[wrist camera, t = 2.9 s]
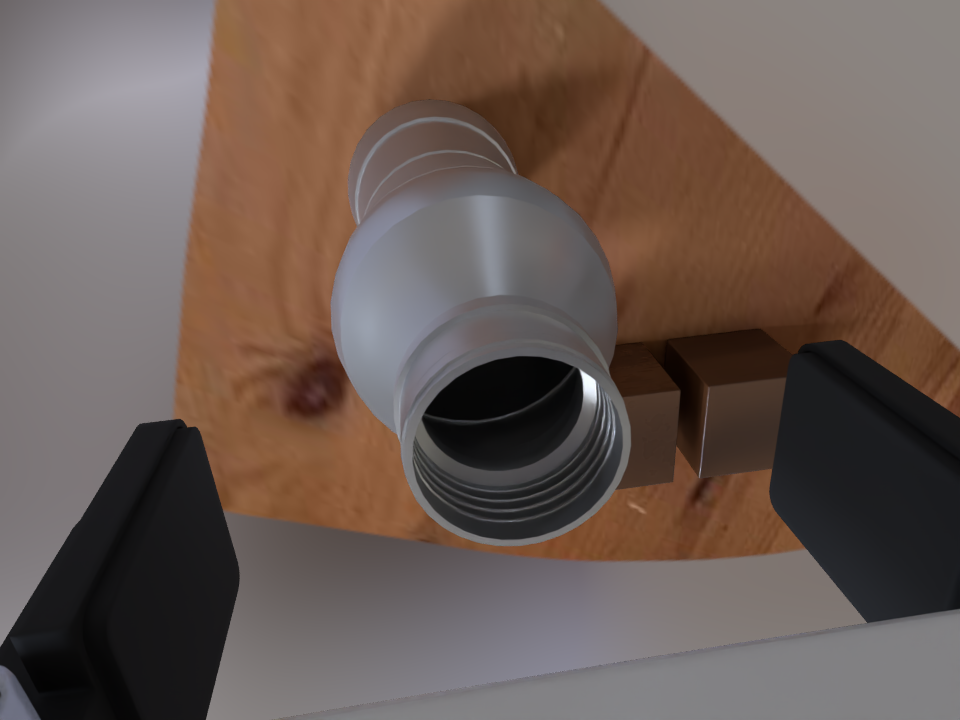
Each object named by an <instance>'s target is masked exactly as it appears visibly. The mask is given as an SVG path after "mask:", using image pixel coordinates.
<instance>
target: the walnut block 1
mask: <svg viewBox="0 0 960 720" xmlns="http://www.w3.org/2000/svg"><path fill="white" fill-rule="evenodd" d="M609 373H610V376H611V379H612V380H613V382H614V383H615V385H616V387H617V389H618V391H619V393H620V394H621V396H622V398H623V400H624V404H625V408H626V411H627V415H628V419H629V423H630V428H631V448H630V454H629V459H628V464H627V467H626V469H625V472H624V474H623V476H622V479H621V481H620V483H619V485H618V486H617V488H616V489H615V490H618V489H625V488H633V487H640V486H648V485H655V484H663V483H670V482H673V477H674V465H675V453H676V441H677V428H678V416H679V404H680V392H681V390H680V389H679V388H678V386H677V385H676V384H675V383H674V381H673V380H672V379H671V378H670V376H669V375H668V374H667V373H666V372H665V370H664V369H663V368H662V367H661V365H660V364H659V363H658V362H657V360H656V359H655V358H654V357H653V355H652V354H651V353H650V352H649V350H648V349H647V348H646V347H645V346H644V344H643V343H633V344H624V345H615V350H614V356H613V358H612V361H611V364H610V366H609Z"/></svg>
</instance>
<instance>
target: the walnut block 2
mask: <svg viewBox="0 0 960 720" xmlns="http://www.w3.org/2000/svg"><path fill="white" fill-rule="evenodd" d="M792 356H793V355H792V354H791V353H790V352H788V351H787V350H786V349H785V348H783V347H782V346H781V345H780V344H779V343H777V342H776V341H775V340H774V339H772V338H771V337H770V336H769V335H768V334H766V333H765V332H764V331H763V330H761V329H756V330H747V331H738V332H730V333H721V334H712V335H704V336H695V337H686V338H678V339H669V340H667V345H666V359H665V372H666V373H667V374H668V375H669V376H670V378H671V379H672V380H673V381H674V383H675V384H676V385H677V386H678V388H679V389H680V390H681V392H680V404H679V416H678V428H677V441H676V445H677V447H678V448H679V450H680V451H681V453H682V454H683V455H684V457H685V458H686V460H687V461H688V463H689V464H690V466H691V467H692V468H693V470H694V471H695V473H696V474H697V476H698V477H699V478H706V477H713V476H721V475H728V474H736V473H743V472H751V471H758V470H765V469H773V462H774V456H775V449H776V443H777V436H778V430H779V423H780V416H781V410H782V403H783V397H784V390H785V384H786V377H787V371H788V364H789V361H790V359H791V357H792Z"/></svg>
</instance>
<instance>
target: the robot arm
mask: <svg viewBox="0 0 960 720" xmlns="http://www.w3.org/2000/svg"><path fill="white" fill-rule="evenodd" d="M769 493H770V499H771V503H772V505H773V508H774V509H775V511H776V512H777V514H778V515H779V516H780V517H781V519H782V520H783V521H784V522H785V523H786V525H787V526H788V527H789V528H790V529H791V531H792V532H793V533H794V534H795V536H796V537H797V538H798V539H799V540H800V542H801V543H802V544H803V545H804V546H805V548H806V549H807V550H808V551H809V552H810V554H811V555H812V556H813V557H814V559H815V560H816V561H817V562H818V563H819V565H820V566H821V567H822V568H823V569H824V571H825V572H826V573H827V574H828V575H829V576H830V578H831V579H832V580H833V582H834V583H835V584H836V585H837V587H838V588H839V589H840V590H841V591H842V592H843V594H844V595H845V596H846V597H847V599H848V600H849V601H850V602H851V603H852V605H853V606H854V607H855V608H856V609H857V611H858V612H859V613H860V614H861V616H862V617H863V618H864V619H865V620H866V622H867V623H865V624H858V625H852V626H846V627H839V628H832V629H826V630H820V631H813V632H807V633H800V634H794V635H788V636H781V637H774V638H768V639H761V640H755V641H749V642H743V643H736V644H731V645H724V646H717V647H711V648H705V649H698V650H692V651H686V652H680V653H674V654H667V655H661V656H655V657H648V658H643V659H636V660H630V661H624V662H617V663H611V664H606V665H599V666H593V667H586V668H580V669H574V670H568V671H562V672H555V673H549V674H543V675H537V676H531V677H525V678H519V679H513V680H507V681H501V682H495V683H489V684H483V685H477V686H471V687H465V688H459V689H453V690H447V691H441V692H435V693H429V694H423V695H417V696H411V697H405V698H399V699H393V700H387V701H381V702H375V703H369V704H362V705H357V706H350V707H345V708H339V709H333V710H327V711H321V712H315V713H309V714H303V715H297V716H291V717H286V718H280V719H274V720H960V418H959V417H958V416H956V415H955V414H953V413H952V412H950V411H949V410H947V409H946V408H944V407H943V406H941V405H940V404H938V403H937V402H935V401H934V400H932V399H931V398H929V397H928V396H926V395H925V394H923V393H922V392H920V391H919V390H917V389H916V388H914V387H913V386H911V385H910V384H908V383H907V382H905V381H904V380H902V379H901V378H899V377H898V376H896V375H895V374H893V373H892V372H890V371H889V370H887V369H886V368H884V367H883V366H881V365H880V364H878V363H877V362H875V361H874V360H872V359H871V358H869V357H868V356H866V355H865V354H863V353H862V352H860V351H859V350H857V349H856V348H854V347H853V346H851V345H850V344H848V343H847V342H845V341H842V340H835V341H826V342H818V343H810V344H805V345H803V346H802V347H801V348H800V350H799V351H798V354H794V355H793V356H792V357H791V359H790V361H789V364H788V371H787V377H786V384H785V390H784V397H783V403H782V410H781V416H780V423H779V430H778V436H777V443H776V449H775V456H774V462H773V469H772V475H771V482H770V490H769ZM239 579H240V578H239V566H238V561H237V558H236V555H235V551H234V547H233V544H232V541H231V537H230V534H229V530H228V527H227V523H226V520H225V517H224V513H223V509H222V506H221V502H220V499H219V496H218V492H217V489H216V485H215V482H214V478H213V475H212V471H211V468H210V464H209V461H208V457H207V454H206V451H205V447H204V444H203V440H202V437H201V434H200V431H199V430H198V428H196V427H188V428H187V426H186V424H185V423H184V421H182V420H181V419H175V420H167V421H159V422H150V423H143V424H139V425H138V426H137V427H136V429H135V431H134V432H133V434H132V436H131V437H130V439H129V441H128V442H127V444H126V446H125V447H124V449H123V451H122V452H121V454H120V456H119V457H118V459H117V461H116V462H115V464H114V465H113V467H112V469H111V471H110V472H109V474H108V475H107V477H106V479H105V480H104V482H103V484H102V485H101V487H100V488H99V490H98V492H97V493H96V495H95V497H94V498H93V500H92V502H91V503H90V505H89V507H88V508H87V510H86V512H85V513H84V515H83V517H82V518H81V520H80V521H79V522H78V523H77V524H76V525H75V527H74V528H73V529H72V531H71V532H70V534H69V536H68V537H67V539H66V541H65V542H64V544H63V546H62V547H61V549H60V550H59V552H58V554H57V555H56V557H55V559H54V560H53V562H52V563H51V565H50V567H49V568H48V570H47V572H46V573H45V575H44V577H43V578H42V580H41V582H40V583H39V585H38V586H37V588H36V590H35V591H34V593H33V595H32V596H31V598H30V599H29V601H28V603H27V605H26V606H25V608H24V609H23V611H22V613H21V614H20V616H19V617H18V619H17V621H16V622H15V624H14V626H13V627H12V629H11V631H10V632H9V634H8V635H7V637H6V639H5V640H4V642H3V644H2V645H1V647H0V720H206V717H207V713H208V709H209V705H210V701H211V697H212V693H213V689H214V685H215V681H216V676H217V673H218V669H219V665H220V661H221V657H222V653H223V648H224V644H225V641H226V637H227V633H228V629H229V625H230V621H231V617H232V613H233V609H234V605H235V601H236V597H237V592H238V587H239Z"/></svg>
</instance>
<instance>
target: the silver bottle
mask: <svg viewBox="0 0 960 720" xmlns="http://www.w3.org/2000/svg"><path fill="white" fill-rule="evenodd" d="M348 197H349V202H350V206H351V211H352V215H353V217H354V220H355V223H356V225H357V228H356V230H355V231H354V232H353V234H352V235H351V237H350V239H349V242H348V244H347V247H346V249H345V251H344V254H343V256H342V259H341V261H340V264H339V267H338V270H337V273H336V275H335V281H334V287H333V292H332V298H331V323H332V333H333V337H334V341H335V345H336V349H337V353H338V356H339V359H340V361H341V363H342V365H343V367H344V369H345V371H346V373H347V375H348V377H349V379H350V381H351V383H352V384H353V386H354V388H355V389H356V391H357V393H358V395H359V396H360V397H361V399H362V400H363V401H364V403H365V404H366V405H367V406H368V408H369V409H370V410H371V412H372V413H373V414H374V415H375V416H376V417H377V418H378V419H379V420H380V421H381V422H383V423H384V424H385V425H386V426H387V427H388V428H389V429H390V430H392V431H393V432H394V433H396V434H397V435H398V438H399V441H400V443H401V459H402V463H403V468H404V472H405V476H406V478H407V481H408V484H409V486H410V488H411V490H412V492H413V494H414V496H415V498H416V500H417V501H418V503H419V504H420V505H421V507H422V508H423V509H424V510H425V512H426V513H427V514H428V515H429V516H430V517H431V518H432V519H434V520H435V521H436V522H437V523H438V524H440V525H441V526H442V527H443V528H445V529H447V530H449V531H451V532H453V533H454V534H456V535H458V536H460V537H463V538H466V539H469V540H472V541H475V542H478V543H483V544H489V545H496V546H521V545H527V544H533V543H539V542H543V541H546V540H549V539H551V538H554V537H557V536H560V535H562V534H564V533H566V532H568V531H570V530H572V529H574V528H576V527H578V526H579V525H581V524H582V523H583V522H585V521H586V520H587V519H589V518H590V517H591V516H593V515H594V514H595V513H596V512H597V511H598V510H599V509H600V508H601V507H602V506H603V505H604V504H605V503H606V502H607V501H608V500H609V498H610V497H611V495H612V494H613V492H614V491H615V489H616V488H617V486H618V485H619V483H620V481H621V479H622V476H623V474H624V472H625V469H626V467H627V464H628V459H629V454H630V448H631V428H630V423H629V419H628V415H627V411H626V408H625V404H624V400H623V398H622V396H621V394H620V393H619V391H618V389H617V387H616V385H615V383H614V382H613V380H612V379H611V376H610V373H609V366H610V364H611V361H612V358H613V356H614V350H615V344H616V338H617V332H618V326H617V304H616V293H615V286H614V282H613V278H612V274H611V270H610V266H609V262H608V260H607V258H606V256H605V253H604V251H603V249H602V247H601V245H600V243H599V241H598V239H597V237H596V236H595V234H594V233H593V232H592V231H591V229H590V228H589V227H588V225H587V224H586V223H585V222H584V220H583V219H582V218H581V216H580V215H579V214H578V213H576V212H575V211H574V210H573V209H572V208H571V207H569V206H568V205H567V204H566V203H565V202H563V201H562V200H561V199H560V198H559V197H557V196H556V195H554V194H553V193H551V192H550V191H548V190H547V189H545V188H544V187H542V186H540V185H538V184H536V183H534V182H532V181H530V180H529V179H527V178H525V177H523V176H520V175H518V171H517V168H516V165H515V161H514V158H513V155H512V153H511V151H510V149H509V148H508V146H507V144H506V142H505V140H504V139H503V138H502V136H501V135H500V134H499V132H498V131H497V130H496V129H495V127H494V126H493V125H491V124H490V123H489V122H488V121H487V120H486V119H484V118H483V117H482V116H481V115H479V114H478V113H476V112H474V111H472V110H470V109H469V108H467V107H465V106H462V105H459V104H456V103H452V102H449V101H443V100H431V99H428V100H420V101H412V102H409V103H406V104H404V105H401V106H398V107H395V108H394V109H392V110H390V111H389V112H387V113H386V114H384V115H382V116H381V117H379V118H378V119H377V120H376V121H375V122H374V123H373V124H372V125H371V126H370V127H369V128H368V129H367V131H366V132H365V134H364V135H363V137H362V138H361V140H360V141H359V143H358V144H357V147H356V150H355V152H354V155H353V157H352V160H351V164H350V169H349V175H348Z"/></svg>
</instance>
